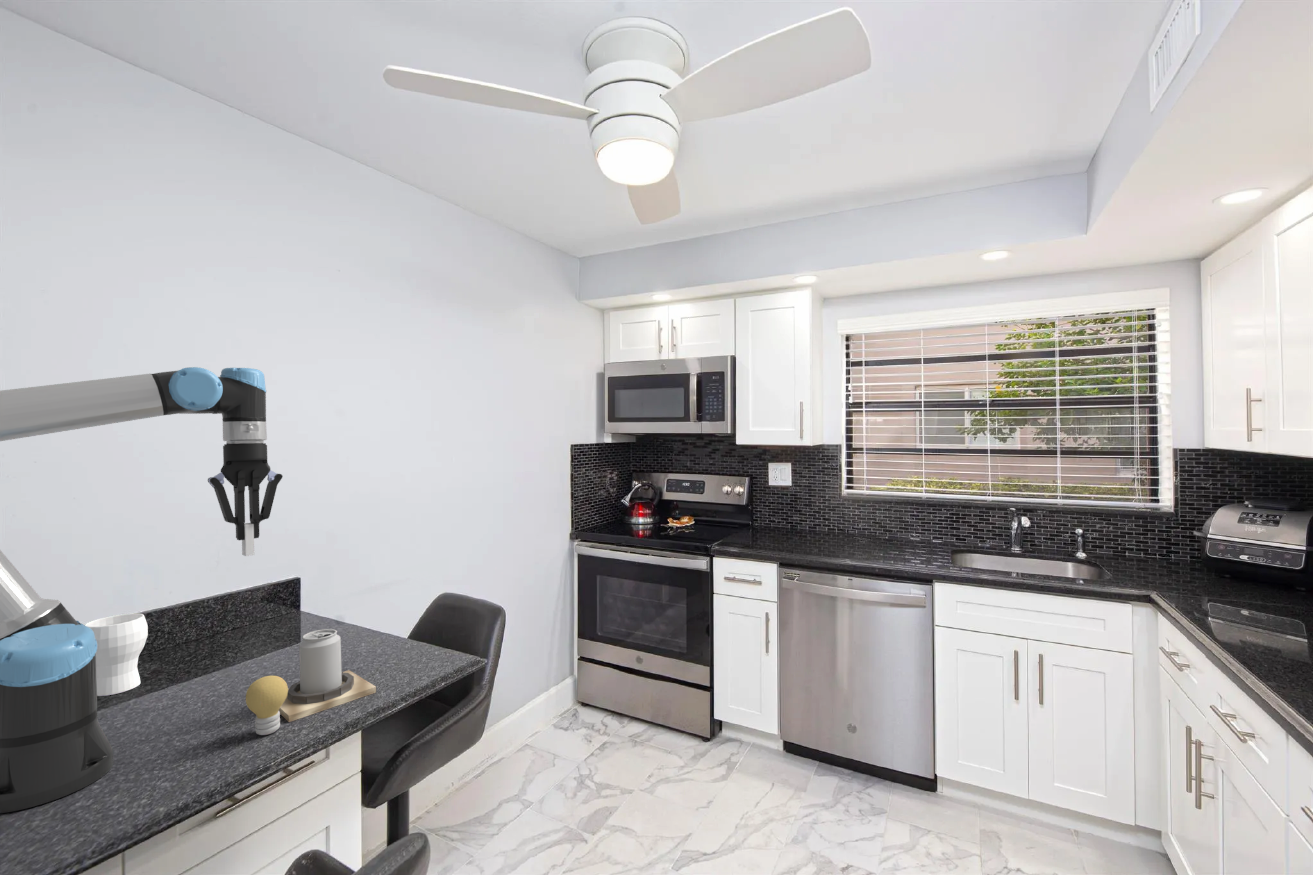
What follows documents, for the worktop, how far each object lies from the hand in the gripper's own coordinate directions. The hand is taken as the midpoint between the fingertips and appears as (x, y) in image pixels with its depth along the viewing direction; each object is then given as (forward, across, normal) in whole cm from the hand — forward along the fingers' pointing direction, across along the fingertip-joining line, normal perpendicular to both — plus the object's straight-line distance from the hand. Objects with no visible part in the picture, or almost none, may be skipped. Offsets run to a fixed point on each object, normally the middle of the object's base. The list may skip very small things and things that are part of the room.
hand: (248, 554), depth 121 cm
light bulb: (+30, -3, -21) cm, 36 cm away
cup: (+30, -18, +28) cm, 45 cm away
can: (+28, +9, -13) cm, 32 cm away
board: (+29, +9, -13) cm, 33 cm away
